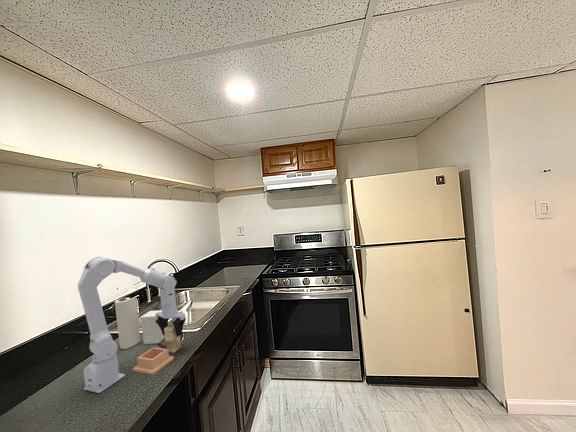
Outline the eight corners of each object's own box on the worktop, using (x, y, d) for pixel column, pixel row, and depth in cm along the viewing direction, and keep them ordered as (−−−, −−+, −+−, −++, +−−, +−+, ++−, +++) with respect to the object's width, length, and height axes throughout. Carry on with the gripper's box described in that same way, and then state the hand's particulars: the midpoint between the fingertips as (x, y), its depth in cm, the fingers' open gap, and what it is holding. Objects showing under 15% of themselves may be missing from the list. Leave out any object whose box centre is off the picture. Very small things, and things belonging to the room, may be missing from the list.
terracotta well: (153, 374, 96) (151, 362, 96) (133, 371, 100) (131, 359, 100) (174, 359, 106) (172, 348, 105) (155, 356, 109) (154, 345, 109)
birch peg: (173, 352, 111) (171, 328, 110) (166, 351, 112) (164, 328, 112) (181, 347, 114) (178, 324, 114) (173, 346, 116) (171, 323, 116)
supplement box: (167, 335, 127) (164, 309, 127) (158, 343, 120) (155, 316, 119) (152, 336, 128) (149, 310, 127) (143, 344, 120) (139, 317, 120)
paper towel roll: (117, 350, 117) (111, 302, 116) (124, 343, 123) (118, 298, 122) (134, 348, 118) (129, 300, 117) (140, 341, 124) (135, 296, 123)
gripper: (189, 300, 114) (192, 331, 114) (163, 299, 119) (166, 329, 119) (176, 307, 107) (180, 340, 108) (149, 305, 112) (153, 336, 113)
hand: (172, 334), depth 113 cm, fingers open, 7 cm apart
